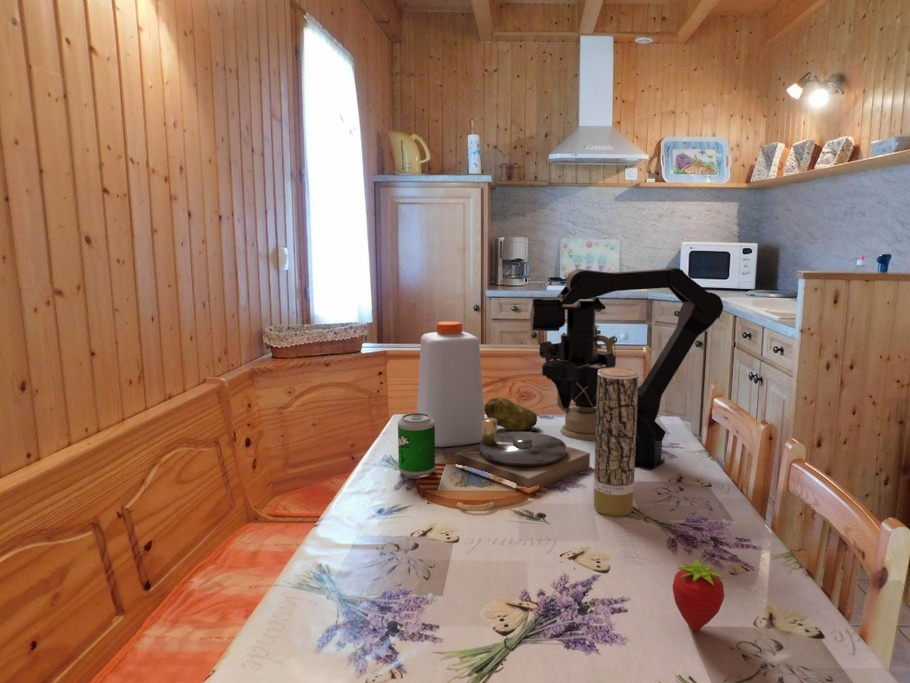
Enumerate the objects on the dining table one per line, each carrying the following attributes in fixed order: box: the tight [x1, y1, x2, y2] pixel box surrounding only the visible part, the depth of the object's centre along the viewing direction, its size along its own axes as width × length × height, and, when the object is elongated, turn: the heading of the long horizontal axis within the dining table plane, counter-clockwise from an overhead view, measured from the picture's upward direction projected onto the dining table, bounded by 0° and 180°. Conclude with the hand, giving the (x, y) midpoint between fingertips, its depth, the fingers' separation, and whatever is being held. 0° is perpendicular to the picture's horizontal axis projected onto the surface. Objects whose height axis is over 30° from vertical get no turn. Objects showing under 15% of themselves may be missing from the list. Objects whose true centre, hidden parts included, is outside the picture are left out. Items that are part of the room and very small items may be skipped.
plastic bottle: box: [416, 320, 485, 448], centre depth 151 cm, size 15×15×28 cm
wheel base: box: [454, 444, 591, 490], centre depth 133 cm, size 20×20×3 cm
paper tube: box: [593, 367, 640, 517], centre depth 110 cm, size 7×7×25 cm
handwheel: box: [479, 417, 567, 467], centre depth 132 cm, size 18×18×6 cm
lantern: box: [556, 324, 618, 441], centre depth 154 cm, size 14×12×30 cm
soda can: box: [397, 412, 436, 479], centre depth 129 cm, size 8×8×12 cm
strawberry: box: [671, 556, 726, 632], centre depth 77 cm, size 6×8×10 cm
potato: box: [484, 397, 538, 432], centre depth 158 cm, size 8×13×8 cm, turn 74°
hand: (578, 404), depth 133 cm, fingers open, 9 cm apart
